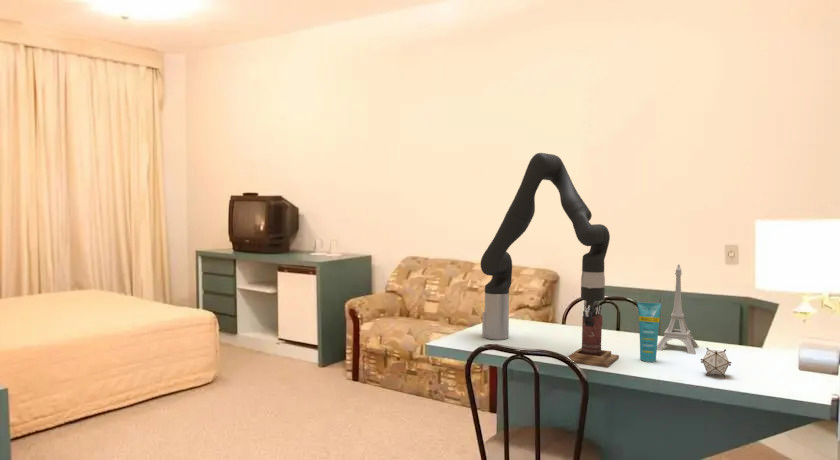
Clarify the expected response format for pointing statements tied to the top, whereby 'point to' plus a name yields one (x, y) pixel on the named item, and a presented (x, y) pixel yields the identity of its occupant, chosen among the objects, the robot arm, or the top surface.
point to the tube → (648, 329)
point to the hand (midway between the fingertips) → (591, 337)
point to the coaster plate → (594, 358)
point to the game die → (715, 362)
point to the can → (592, 336)
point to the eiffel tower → (678, 315)
